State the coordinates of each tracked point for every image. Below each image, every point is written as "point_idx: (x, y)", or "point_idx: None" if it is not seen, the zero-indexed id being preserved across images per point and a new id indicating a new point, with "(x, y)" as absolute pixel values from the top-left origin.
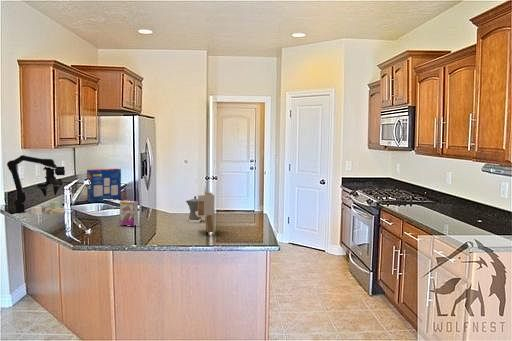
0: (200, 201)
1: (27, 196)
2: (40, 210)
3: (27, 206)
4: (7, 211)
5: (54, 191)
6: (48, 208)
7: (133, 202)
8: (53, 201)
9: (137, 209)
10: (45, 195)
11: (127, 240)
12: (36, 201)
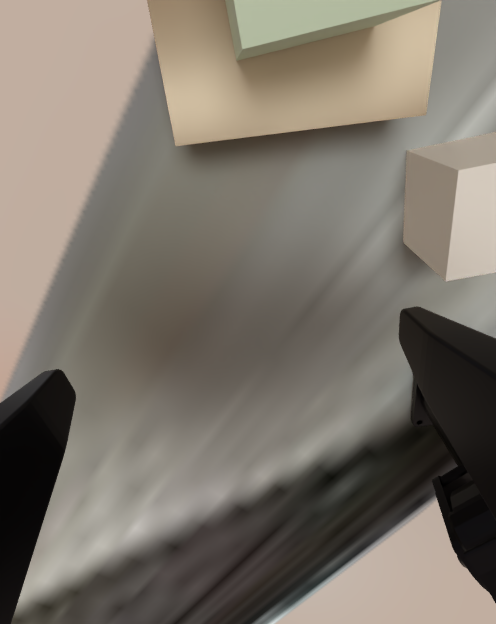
0: None
1: (493, 539)
2: (454, 154)
3: (227, 536)
4: None
5: (32, 493)
6: (365, 92)
7: None
8: (312, 26)
9: None
10: (443, 323)
11: None
12: (87, 617)
